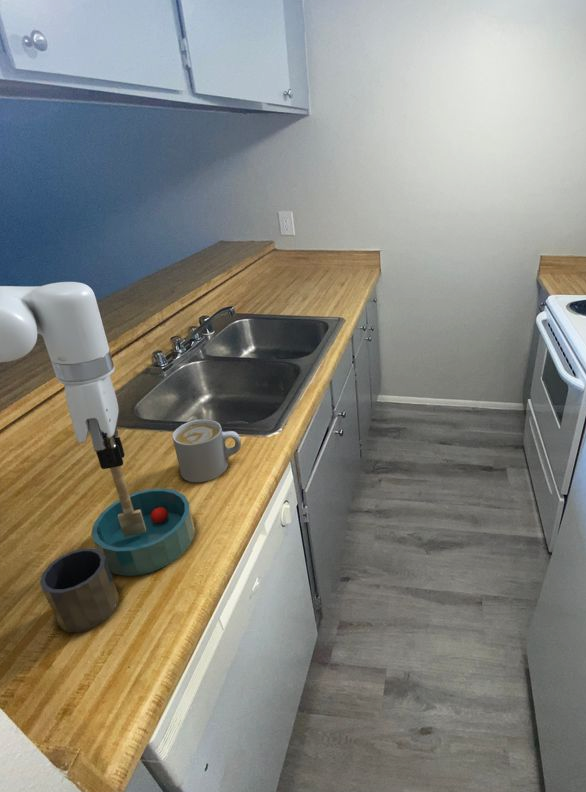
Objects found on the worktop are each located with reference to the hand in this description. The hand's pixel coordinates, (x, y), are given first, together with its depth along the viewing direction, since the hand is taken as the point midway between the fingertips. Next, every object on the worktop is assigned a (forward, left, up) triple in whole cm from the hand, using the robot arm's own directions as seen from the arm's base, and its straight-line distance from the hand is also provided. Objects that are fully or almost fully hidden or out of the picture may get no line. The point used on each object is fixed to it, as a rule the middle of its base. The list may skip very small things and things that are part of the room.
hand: (113, 461), depth 80 cm
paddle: (0, 0, -17) cm, 17 cm away
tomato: (+4, +3, -16) cm, 17 cm away
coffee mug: (+14, +18, -18) cm, 29 cm away
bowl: (+2, -1, -18) cm, 18 cm away
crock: (-6, -13, -18) cm, 23 cm away
